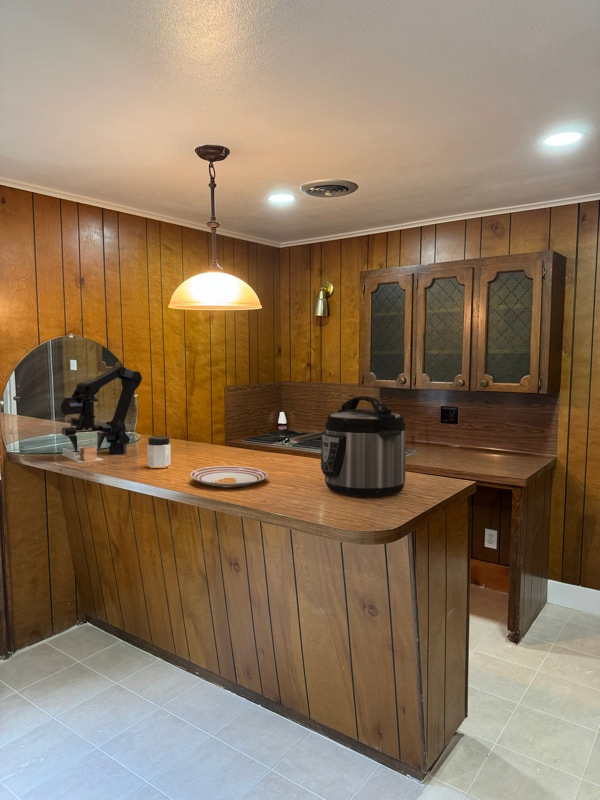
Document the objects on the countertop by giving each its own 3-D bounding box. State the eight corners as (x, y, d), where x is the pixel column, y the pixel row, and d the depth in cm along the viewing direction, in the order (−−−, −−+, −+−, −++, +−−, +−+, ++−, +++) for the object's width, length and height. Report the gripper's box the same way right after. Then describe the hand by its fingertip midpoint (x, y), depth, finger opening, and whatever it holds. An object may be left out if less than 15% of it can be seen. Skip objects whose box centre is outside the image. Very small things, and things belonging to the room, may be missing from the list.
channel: (59, 457, 240) (59, 448, 240) (83, 455, 247) (83, 446, 247) (79, 466, 222) (79, 456, 222) (103, 463, 229) (103, 453, 229)
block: (80, 459, 228) (80, 447, 228) (92, 458, 231) (92, 446, 231) (84, 461, 224) (84, 449, 224) (96, 460, 228) (96, 447, 227)
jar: (163, 469, 217) (163, 439, 216) (144, 468, 219) (144, 438, 218) (173, 465, 225) (173, 436, 225) (155, 464, 227) (155, 435, 226)
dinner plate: (282, 479, 202) (282, 470, 202) (236, 495, 179) (236, 485, 179) (223, 471, 216) (223, 463, 216) (173, 484, 193) (173, 475, 193)
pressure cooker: (324, 478, 204) (326, 393, 202) (402, 481, 201) (404, 394, 198) (316, 498, 175) (317, 398, 172) (407, 502, 171) (410, 400, 169)
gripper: (101, 410, 240) (102, 445, 241) (56, 412, 228) (57, 450, 229) (111, 412, 232) (112, 449, 233) (65, 414, 220) (66, 453, 221)
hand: (87, 450), depth 229 cm, fingers open, 9 cm apart
